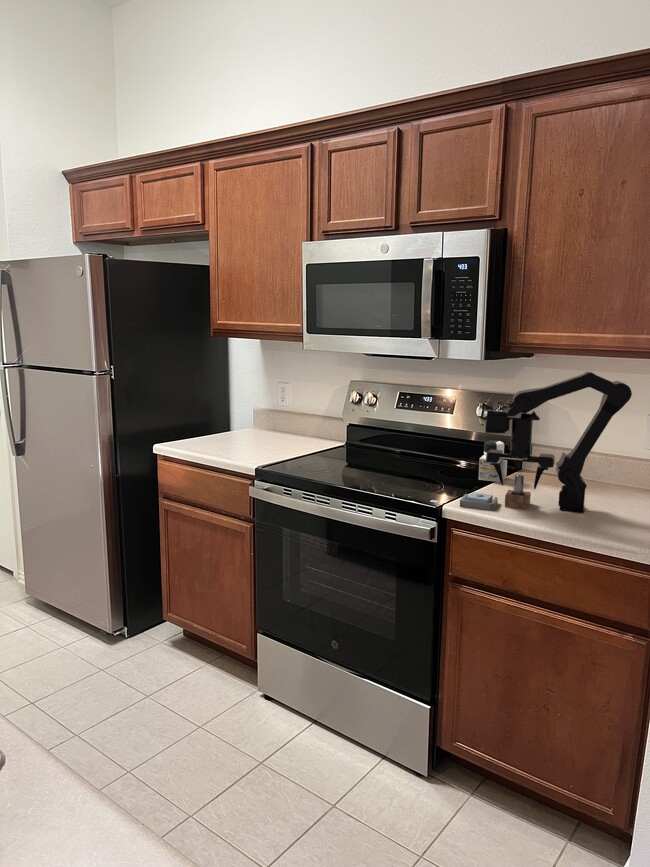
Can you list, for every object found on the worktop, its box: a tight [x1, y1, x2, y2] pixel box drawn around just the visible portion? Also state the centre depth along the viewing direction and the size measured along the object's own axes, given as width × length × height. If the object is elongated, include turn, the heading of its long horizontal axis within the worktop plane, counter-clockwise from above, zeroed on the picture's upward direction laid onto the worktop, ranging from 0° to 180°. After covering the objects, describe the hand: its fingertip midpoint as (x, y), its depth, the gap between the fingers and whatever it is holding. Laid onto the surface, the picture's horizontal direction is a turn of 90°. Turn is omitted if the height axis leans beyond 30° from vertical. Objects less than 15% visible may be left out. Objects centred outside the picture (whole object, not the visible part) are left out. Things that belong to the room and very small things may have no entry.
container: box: [478, 439, 508, 483], centre depth 223 cm, size 8×8×13 cm
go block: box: [504, 489, 531, 510], centre depth 194 cm, size 6×6×4 cm
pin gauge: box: [513, 473, 525, 496], centre depth 193 cm, size 3×3×9 cm
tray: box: [459, 493, 499, 511], centre depth 194 cm, size 10×8×2 cm
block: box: [467, 491, 494, 503], centre depth 194 cm, size 6×6×3 cm
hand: (518, 486), depth 193 cm, fingers open, 9 cm apart
